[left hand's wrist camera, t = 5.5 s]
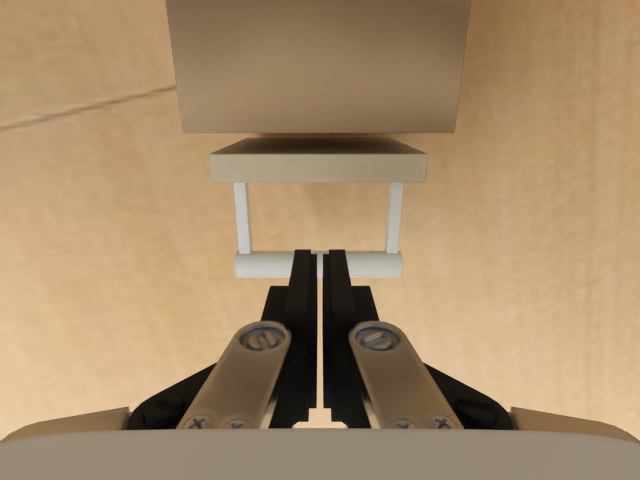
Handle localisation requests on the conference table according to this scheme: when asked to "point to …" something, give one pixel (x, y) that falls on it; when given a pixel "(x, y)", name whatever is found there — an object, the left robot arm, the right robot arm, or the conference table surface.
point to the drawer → (318, 167)
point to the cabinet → (318, 65)
